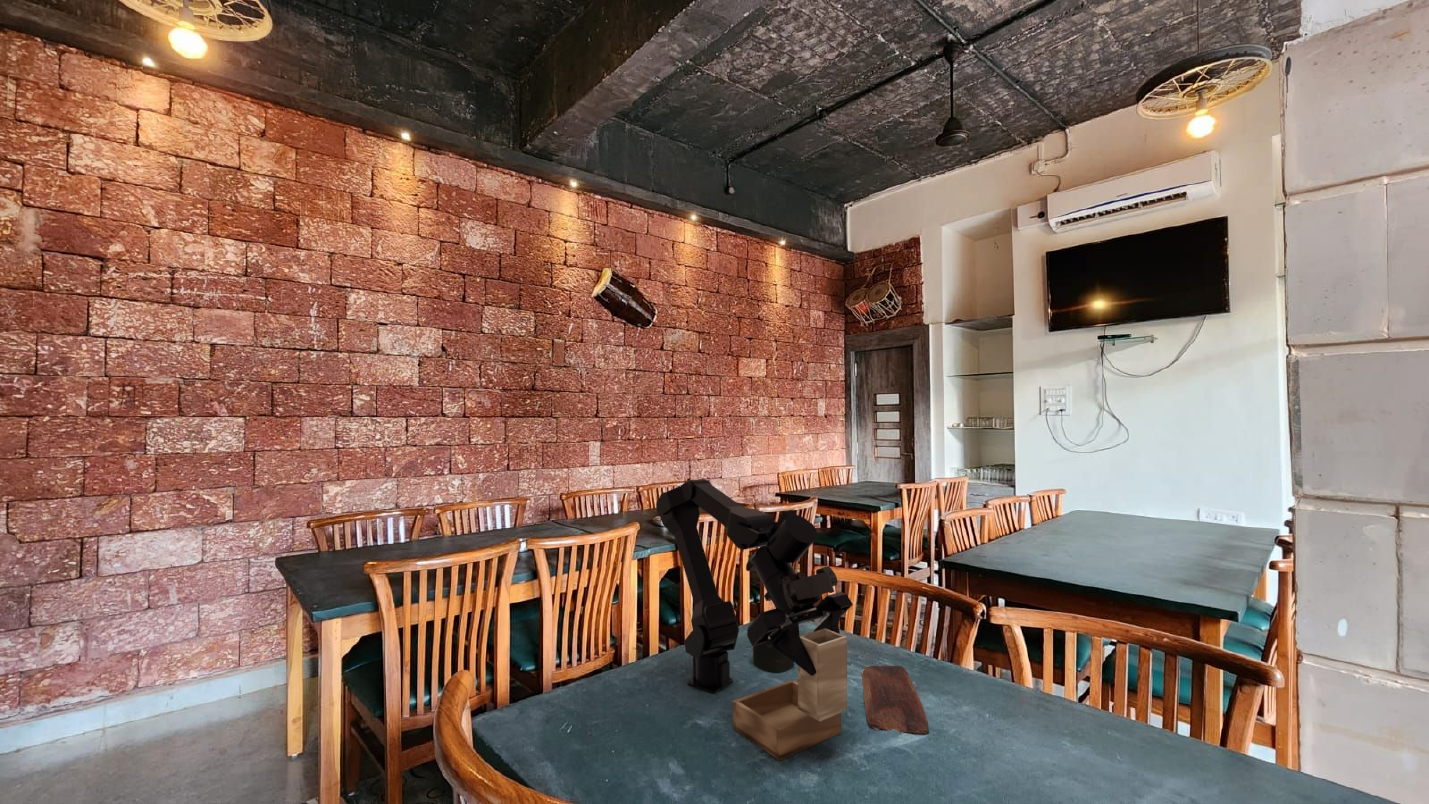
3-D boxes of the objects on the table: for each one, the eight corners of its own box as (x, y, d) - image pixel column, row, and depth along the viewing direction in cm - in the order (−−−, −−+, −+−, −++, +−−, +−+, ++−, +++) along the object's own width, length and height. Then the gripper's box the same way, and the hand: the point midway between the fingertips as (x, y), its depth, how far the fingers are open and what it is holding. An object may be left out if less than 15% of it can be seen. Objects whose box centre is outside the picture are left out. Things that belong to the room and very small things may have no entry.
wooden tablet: (859, 659, 122) (909, 657, 120) (861, 670, 122) (911, 668, 120) (866, 724, 96) (930, 723, 94) (868, 738, 96) (932, 737, 94)
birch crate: (798, 709, 90) (798, 636, 90) (825, 698, 93) (825, 628, 94) (819, 721, 86) (819, 646, 87) (847, 709, 90) (847, 637, 90)
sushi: (771, 653, 128) (771, 616, 129) (801, 664, 122) (801, 626, 122) (745, 663, 123) (745, 625, 123) (775, 676, 117) (775, 635, 117)
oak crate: (733, 728, 97) (732, 701, 97) (792, 705, 105) (792, 679, 105) (779, 761, 88) (779, 730, 88) (841, 732, 95) (841, 704, 96)
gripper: (758, 559, 88) (812, 658, 79) (844, 543, 99) (899, 629, 90) (727, 598, 94) (773, 695, 85) (810, 579, 105) (859, 663, 96)
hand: (829, 669), depth 89 cm, fingers closed on birch crate, 6 cm apart
